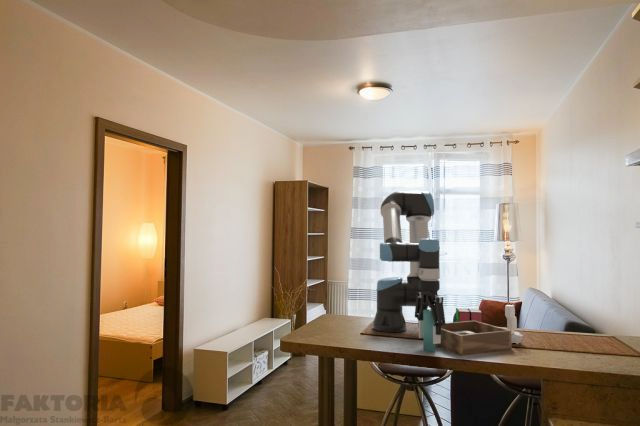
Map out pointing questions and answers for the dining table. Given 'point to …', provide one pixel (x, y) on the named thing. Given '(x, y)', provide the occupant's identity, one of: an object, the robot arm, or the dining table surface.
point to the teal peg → (428, 331)
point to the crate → (474, 338)
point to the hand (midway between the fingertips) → (429, 340)
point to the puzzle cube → (468, 314)
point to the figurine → (512, 323)
